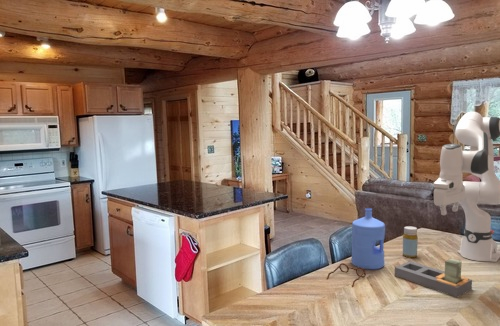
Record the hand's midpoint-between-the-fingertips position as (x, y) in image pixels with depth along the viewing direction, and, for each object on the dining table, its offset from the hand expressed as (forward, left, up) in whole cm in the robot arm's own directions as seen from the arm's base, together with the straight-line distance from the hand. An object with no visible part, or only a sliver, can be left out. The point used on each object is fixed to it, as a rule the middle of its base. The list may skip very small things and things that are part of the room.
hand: (449, 213), depth 168 cm
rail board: (+8, -3, -30) cm, 31 cm away
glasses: (+34, -28, -31) cm, 54 cm away
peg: (+8, +6, -30) cm, 32 cm away
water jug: (+12, -33, -30) cm, 47 cm away
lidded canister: (-15, -27, -30) cm, 44 cm away
